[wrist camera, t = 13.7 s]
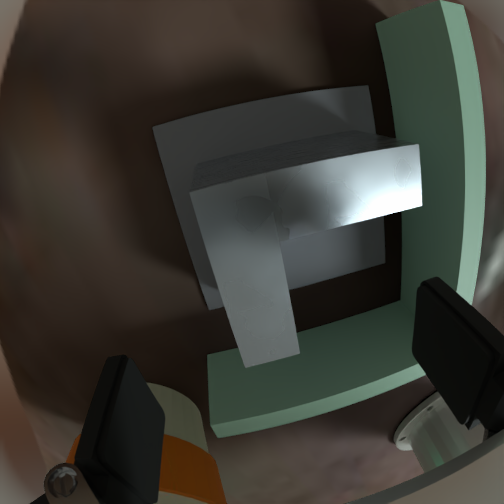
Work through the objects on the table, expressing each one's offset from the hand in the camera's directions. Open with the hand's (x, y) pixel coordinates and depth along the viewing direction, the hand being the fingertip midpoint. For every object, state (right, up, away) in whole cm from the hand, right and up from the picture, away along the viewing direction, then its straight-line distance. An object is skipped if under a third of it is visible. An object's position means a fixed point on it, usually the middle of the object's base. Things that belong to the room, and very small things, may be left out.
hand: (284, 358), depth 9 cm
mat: (+1, +6, +8) cm, 10 cm away
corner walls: (+2, +6, +8) cm, 10 cm away
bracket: (+1, +5, +8) cm, 10 cm away
